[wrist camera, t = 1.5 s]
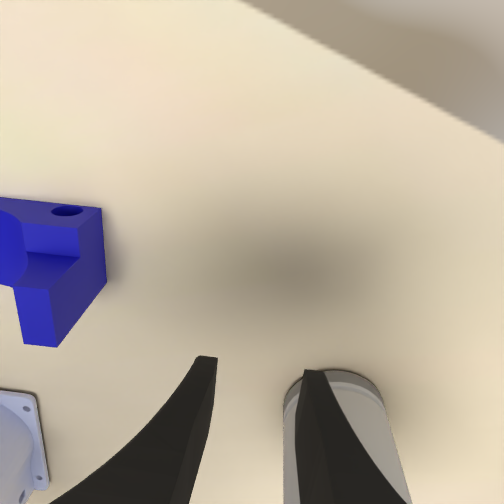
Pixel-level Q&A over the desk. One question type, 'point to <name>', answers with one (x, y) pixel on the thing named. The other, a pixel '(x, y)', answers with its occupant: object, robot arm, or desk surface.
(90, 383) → the desk surface
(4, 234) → the cable clip
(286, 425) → the travel mug
